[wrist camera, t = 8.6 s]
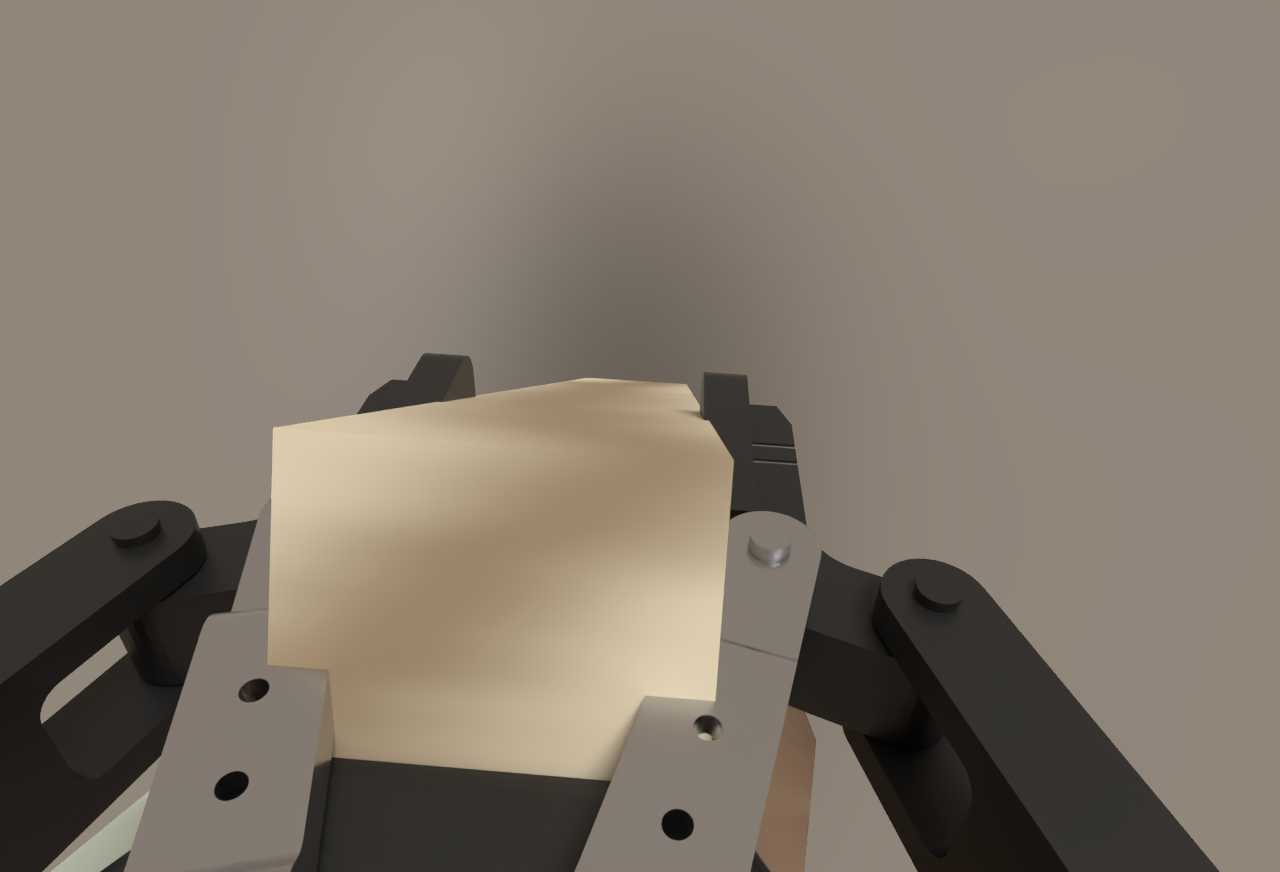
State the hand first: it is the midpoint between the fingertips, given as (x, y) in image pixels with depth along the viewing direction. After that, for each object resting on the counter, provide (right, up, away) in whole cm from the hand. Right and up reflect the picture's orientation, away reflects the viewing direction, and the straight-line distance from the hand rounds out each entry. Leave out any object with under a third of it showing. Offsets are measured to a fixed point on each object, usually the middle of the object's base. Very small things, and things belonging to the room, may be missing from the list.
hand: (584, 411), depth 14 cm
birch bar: (0, -2, +6) cm, 7 cm away
